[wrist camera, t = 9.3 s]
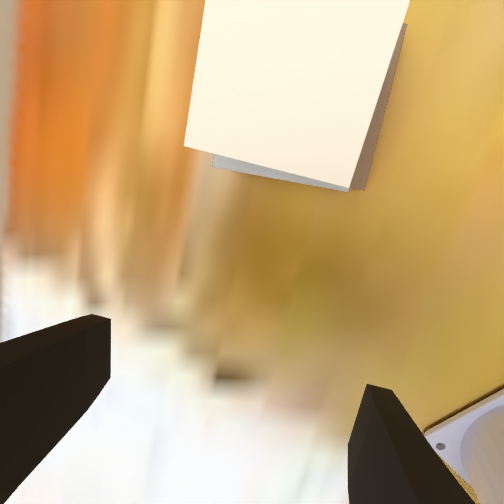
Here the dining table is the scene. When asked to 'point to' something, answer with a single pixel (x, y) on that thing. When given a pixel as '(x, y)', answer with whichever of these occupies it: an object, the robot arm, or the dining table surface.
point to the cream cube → (291, 81)
